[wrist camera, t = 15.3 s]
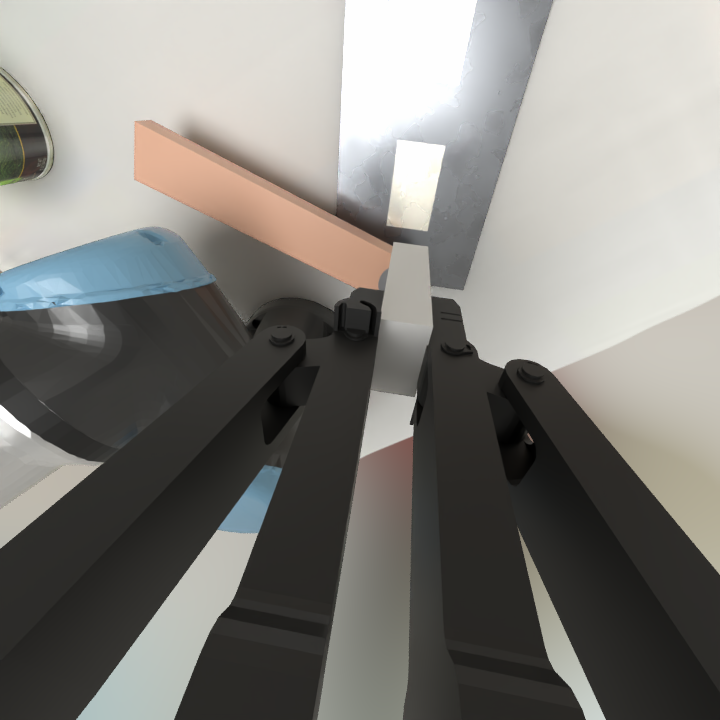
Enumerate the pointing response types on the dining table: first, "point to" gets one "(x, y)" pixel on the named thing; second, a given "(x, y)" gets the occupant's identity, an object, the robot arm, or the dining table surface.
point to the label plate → (431, 118)
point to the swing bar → (257, 207)
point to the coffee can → (21, 135)
